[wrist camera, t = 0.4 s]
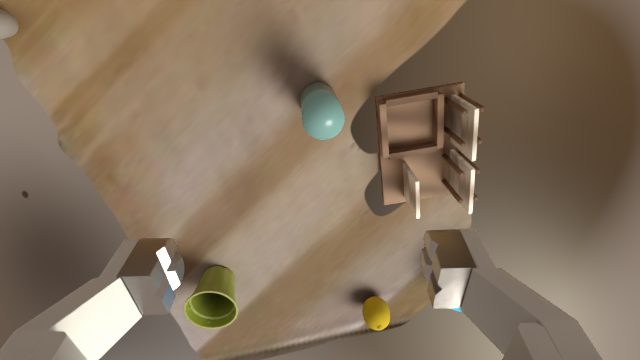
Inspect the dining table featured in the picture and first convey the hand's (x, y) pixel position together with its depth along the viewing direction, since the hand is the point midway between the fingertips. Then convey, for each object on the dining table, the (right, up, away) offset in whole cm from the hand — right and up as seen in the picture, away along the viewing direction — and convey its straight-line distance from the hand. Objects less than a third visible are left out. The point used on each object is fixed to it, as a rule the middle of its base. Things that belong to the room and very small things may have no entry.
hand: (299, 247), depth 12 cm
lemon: (+12, -23, +66) cm, 71 cm away
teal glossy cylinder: (0, +15, +44) cm, 47 cm away
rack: (+18, +8, +49) cm, 53 cm away
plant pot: (-20, -17, +59) cm, 65 cm away
